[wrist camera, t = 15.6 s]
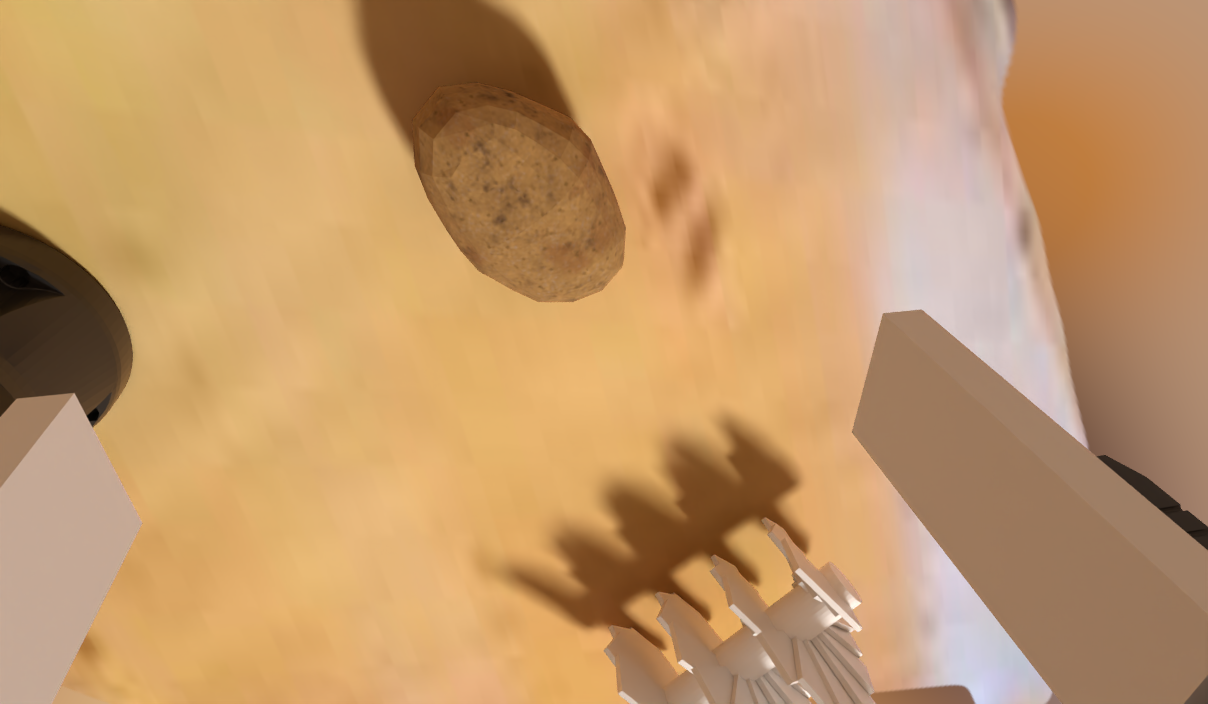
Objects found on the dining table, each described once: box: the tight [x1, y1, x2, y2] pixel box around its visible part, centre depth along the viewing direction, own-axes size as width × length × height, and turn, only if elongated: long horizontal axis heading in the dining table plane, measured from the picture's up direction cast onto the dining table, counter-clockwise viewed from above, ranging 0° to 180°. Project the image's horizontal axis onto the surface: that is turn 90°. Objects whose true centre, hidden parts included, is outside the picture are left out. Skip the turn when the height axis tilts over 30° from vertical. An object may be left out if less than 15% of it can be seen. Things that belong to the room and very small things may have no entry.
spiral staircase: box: [604, 517, 876, 704], centre depth 60 cm, size 18×18×25 cm
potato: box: [412, 82, 626, 302], centre depth 38 cm, size 10×14×8 cm
